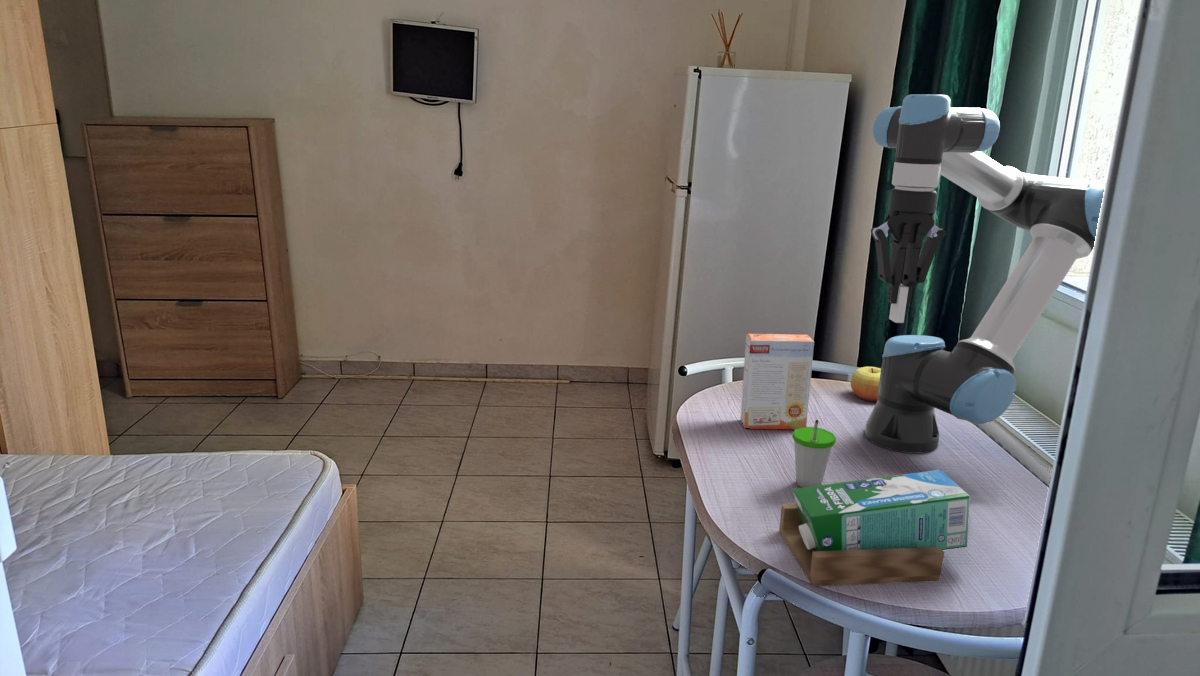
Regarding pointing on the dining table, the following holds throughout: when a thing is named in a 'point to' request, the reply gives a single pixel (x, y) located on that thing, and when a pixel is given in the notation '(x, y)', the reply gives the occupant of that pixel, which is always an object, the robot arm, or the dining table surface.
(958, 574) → the dining table surface
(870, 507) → the milk carton
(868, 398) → the apple
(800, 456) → the cup
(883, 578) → the tray
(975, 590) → the dining table surface
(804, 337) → the cracker box
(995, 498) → the dining table surface
